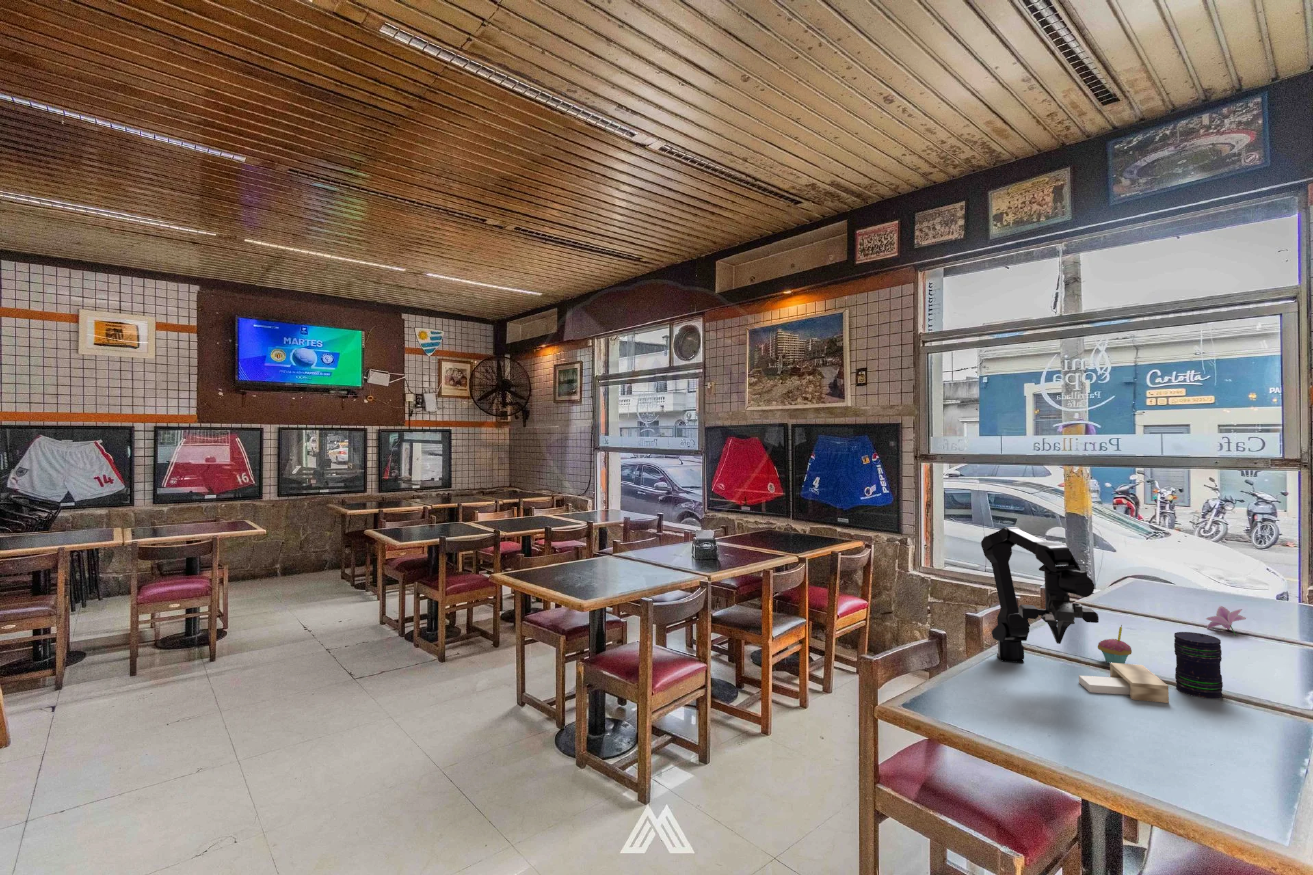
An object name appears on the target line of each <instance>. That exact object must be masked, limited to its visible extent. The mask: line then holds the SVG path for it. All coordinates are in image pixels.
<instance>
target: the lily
mask: <svg viewBox="0 0 1313 875" xmlns="http://www.w3.org/2000/svg"><path fill="white" fill-rule="evenodd" d="M1242 611H1243V609H1242V608H1240V609H1236V610H1232V611H1230V610H1229V609H1228V608H1226V607H1225V606H1222V605H1219V607H1218V608H1217V610H1216V615H1213V616H1210V617H1206V618H1205V620H1207V621H1210V622H1209V623H1208V624H1207V626H1206V629H1208V630H1209V629H1211V628H1214V627H1218V626H1222V627H1223V628H1224V629H1226V628H1227V629H1226V630H1228V629H1229V630H1231V631H1232V633H1233V634H1234V636H1237V634H1236V632H1235V630H1234V628H1233V627H1232V625H1233V623H1234V622H1239V621H1244V620H1246V619H1247V617H1246V616H1243V615H1240V613H1241V612H1242Z"/></svg>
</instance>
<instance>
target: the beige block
mask: <svg viewBox="0 0 1313 875" xmlns="http://www.w3.org/2000/svg"><path fill="white" fill-rule="evenodd" d="M1109 673H1110V674H1109V675H1110V677H1112V678H1124V679H1125V680H1126V681H1127V682H1128V683H1129V684H1130V695H1129V697H1130V699H1132V700H1133V701H1141V702H1142V701H1144V702H1153V703H1164V704H1165V703H1166V704H1170V698H1169V697H1170V696H1169V685H1168V684H1167V683H1165V682H1164V681H1163V680H1162V679H1160V678H1159V677H1158V676H1157V675H1156V674H1154V673H1153V672H1152V671H1150V670H1149V669H1148V668H1147V667H1145V665H1143V664H1133V663H1132V664H1131V663H1125V664H1122V663H1109Z"/></svg>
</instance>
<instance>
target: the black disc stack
mask: <svg viewBox="0 0 1313 875" xmlns="http://www.w3.org/2000/svg"><path fill="white" fill-rule="evenodd" d="M1173 636H1174V643H1173V646H1174V655H1175V663H1176V664H1175V674H1174V677H1175V678H1174V679H1175V683H1176V685H1175V689H1176V690H1177V691H1179V692H1180V693H1182V694H1185V695H1188V696H1191V695H1192V697H1195V698H1201V699H1206V700H1208V699H1209V700H1218V699H1222V698H1223V697H1222V695H1223V687H1224V683H1223V676H1222V673H1221V662H1222V655H1223V654H1222V646H1221V644H1222V642H1221V641H1222V640H1221V639H1220V638H1218V637H1215V636H1213V635H1209V634H1205V633H1204V634H1203V633H1199V632H1189V631H1178V632H1174V635H1173ZM1223 696H1224V695H1223Z"/></svg>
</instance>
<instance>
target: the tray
mask: <svg viewBox="0 0 1313 875" xmlns="http://www.w3.org/2000/svg"><path fill="white" fill-rule="evenodd" d="M1078 683H1079V684H1080V685H1081V686H1082V687H1083V686H1084V687H1083V688H1084V689H1086V690H1087V691H1088V692H1089V693H1099V694H1113V695H1114V694H1115V695H1128V696H1130V684H1129V683H1128V682H1127V681H1126V680H1125V679H1124V678H1112V677H1109V676H1094V675H1093V676H1092V675H1078Z"/></svg>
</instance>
